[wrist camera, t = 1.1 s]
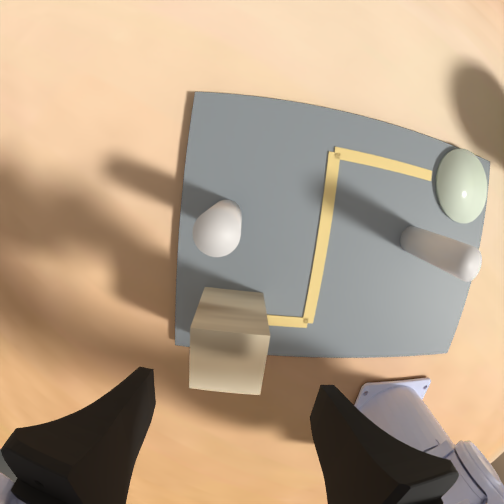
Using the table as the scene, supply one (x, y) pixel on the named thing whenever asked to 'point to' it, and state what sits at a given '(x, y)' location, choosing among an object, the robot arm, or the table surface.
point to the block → (229, 342)
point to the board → (322, 228)
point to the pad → (461, 186)
